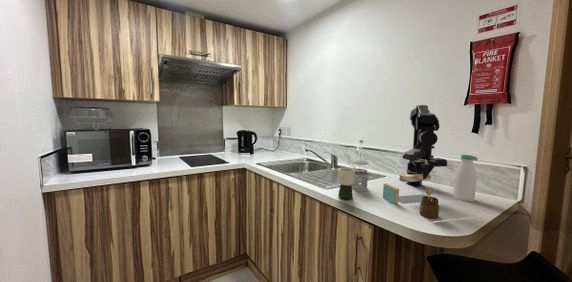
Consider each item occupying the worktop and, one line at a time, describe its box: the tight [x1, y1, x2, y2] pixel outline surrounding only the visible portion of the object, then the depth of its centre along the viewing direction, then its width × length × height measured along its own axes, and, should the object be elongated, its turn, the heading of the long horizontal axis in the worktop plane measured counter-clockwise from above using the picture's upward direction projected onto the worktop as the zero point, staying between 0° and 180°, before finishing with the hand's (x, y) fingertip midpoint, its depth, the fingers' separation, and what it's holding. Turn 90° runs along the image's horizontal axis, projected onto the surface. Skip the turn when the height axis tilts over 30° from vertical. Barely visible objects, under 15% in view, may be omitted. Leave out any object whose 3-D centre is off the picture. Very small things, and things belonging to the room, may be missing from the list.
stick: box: [399, 174, 432, 183], centre depth 101 cm, size 14×2×2 cm, turn 103°
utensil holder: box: [419, 186, 440, 220], centre depth 84 cm, size 6×6×12 cm
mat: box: [398, 194, 427, 204], centre depth 102 cm, size 18×8×1 cm, turn 103°
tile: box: [382, 183, 400, 205], centre depth 99 cm, size 2×8×7 cm, turn 13°
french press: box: [349, 139, 369, 192], centre depth 114 cm, size 10×12×25 cm
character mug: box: [337, 167, 355, 200], centre depth 103 cm, size 11×7×13 cm, turn 141°
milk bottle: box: [452, 154, 478, 203], centre depth 103 cm, size 8×8×20 cm
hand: (421, 178), depth 102 cm, fingers closed on stick, 2 cm apart
